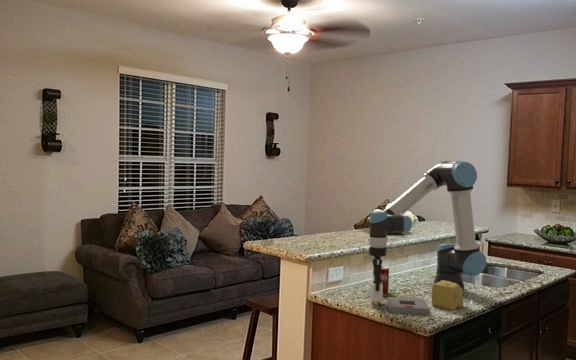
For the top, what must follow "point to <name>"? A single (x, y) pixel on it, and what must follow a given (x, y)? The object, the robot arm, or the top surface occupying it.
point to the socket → (407, 305)
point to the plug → (373, 294)
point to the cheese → (447, 295)
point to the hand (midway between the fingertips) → (376, 294)
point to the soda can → (385, 279)
